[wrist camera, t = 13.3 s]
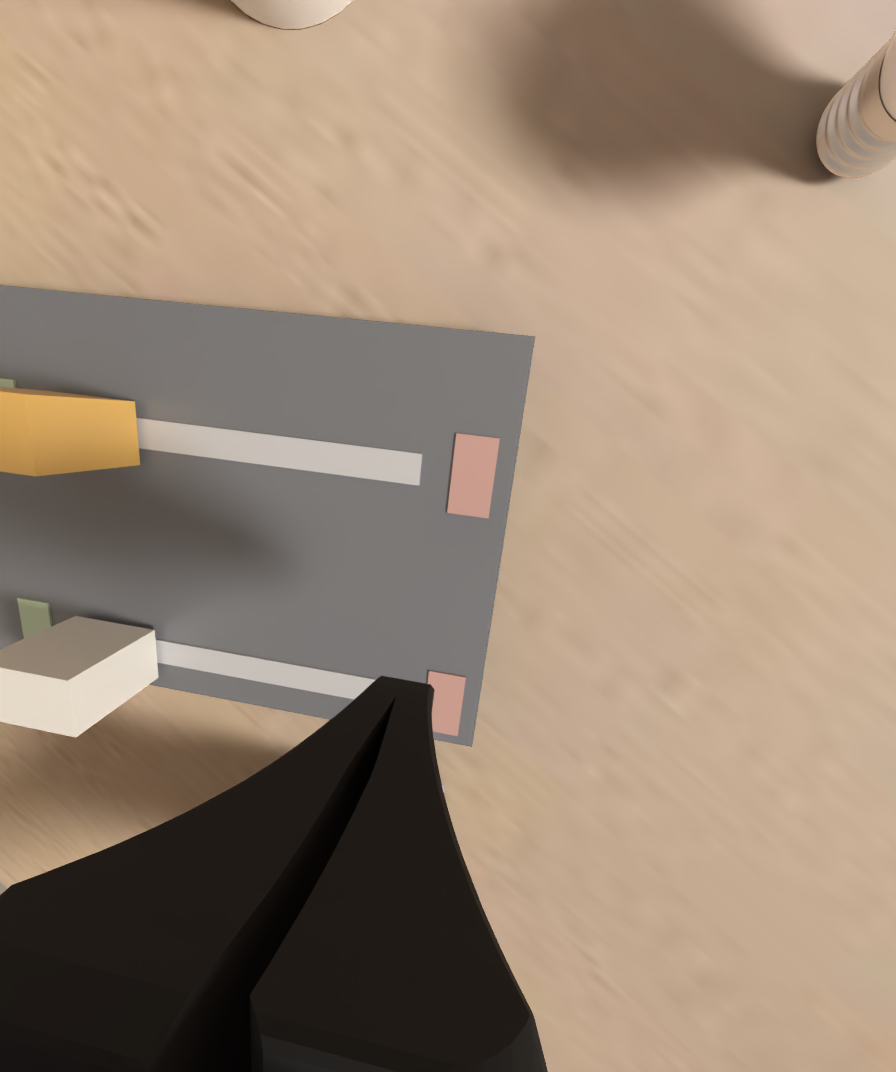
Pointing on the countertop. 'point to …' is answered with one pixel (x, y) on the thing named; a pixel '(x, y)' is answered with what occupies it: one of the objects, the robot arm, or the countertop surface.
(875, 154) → the lightbulb
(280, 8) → the cylindrical container
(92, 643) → the cream handle
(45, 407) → the orange rectangular block
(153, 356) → the gray slider board
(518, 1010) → the robot arm
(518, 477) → the countertop surface
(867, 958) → the countertop surface
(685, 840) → the countertop surface
